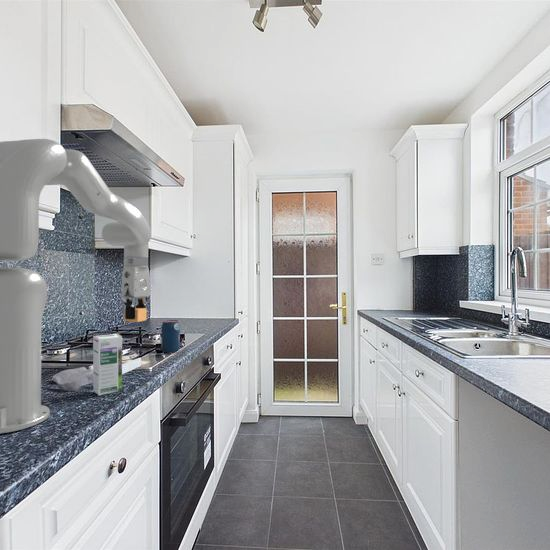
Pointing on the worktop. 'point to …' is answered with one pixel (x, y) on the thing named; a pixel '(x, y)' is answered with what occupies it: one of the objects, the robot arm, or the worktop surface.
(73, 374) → the stone block
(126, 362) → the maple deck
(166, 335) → the soda can
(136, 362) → the channel walls
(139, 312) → the orange block
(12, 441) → the worktop surface
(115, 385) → the syrup box
